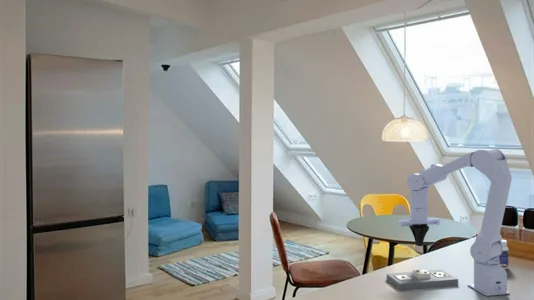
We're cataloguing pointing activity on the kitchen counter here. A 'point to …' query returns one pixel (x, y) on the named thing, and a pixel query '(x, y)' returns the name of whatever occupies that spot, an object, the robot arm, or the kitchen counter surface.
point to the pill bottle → (504, 255)
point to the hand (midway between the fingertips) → (419, 245)
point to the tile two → (421, 274)
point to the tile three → (439, 274)
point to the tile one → (403, 277)
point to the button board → (422, 280)
